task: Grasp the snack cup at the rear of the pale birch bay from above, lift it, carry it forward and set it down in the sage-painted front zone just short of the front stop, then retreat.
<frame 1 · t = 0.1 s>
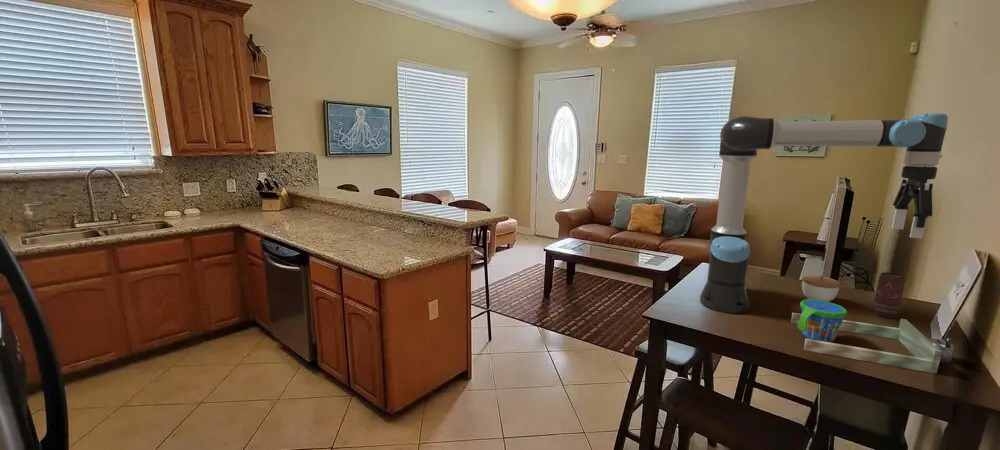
hand: (906, 233, 131), 28 cm above the table, tool pointing down, fingers open, 13 cm apart
snack cup: (817, 338, 122), on the table
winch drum: (936, 357, 111), on the table
can: (884, 315, 137), on the table
bay: (852, 343, 118), on the table
lidded jar: (817, 300, 150), on the table
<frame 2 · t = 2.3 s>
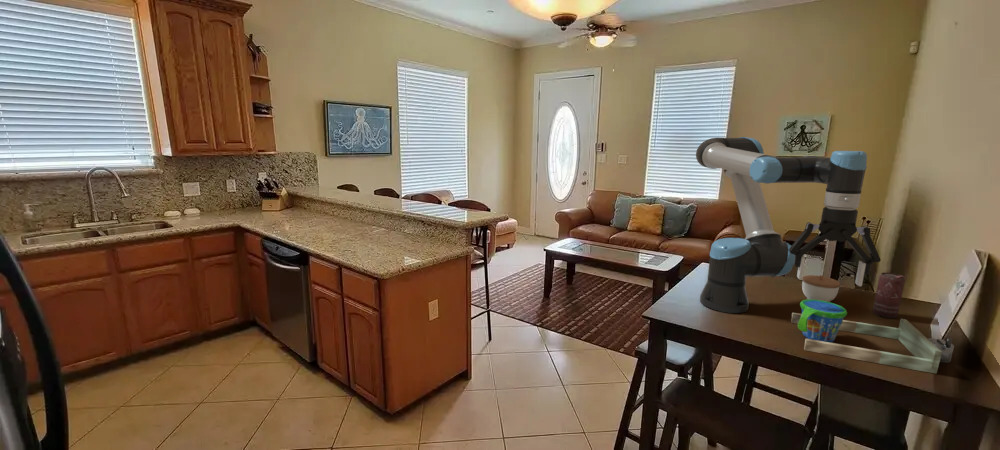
hand: (828, 281, 118), 18 cm above the table, tool pointing down, fingers open, 13 cm apart
nothing on the table moved.
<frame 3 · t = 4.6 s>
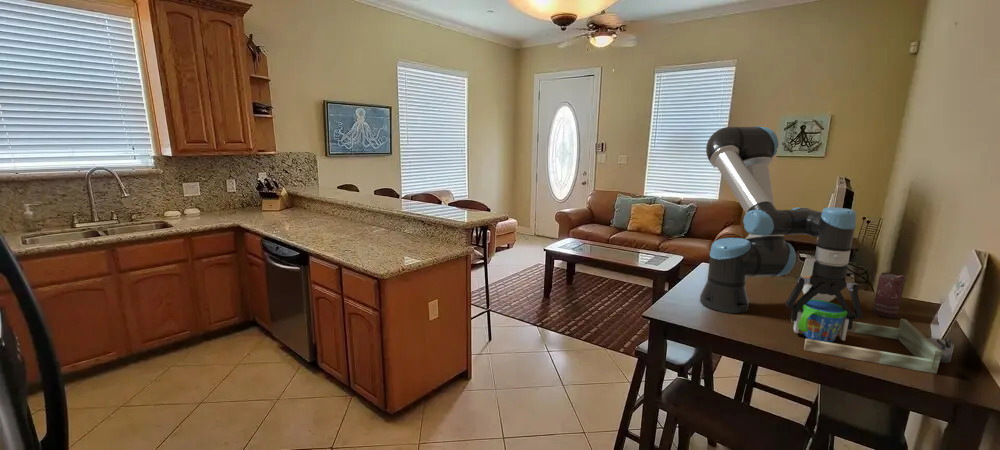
hand: (818, 334, 122), 1 cm above the table, tool pointing down, fingers closed on snack cup, 10 cm apart
snack cup: (818, 338, 122), on the table, touching gripper
everything else where it was.
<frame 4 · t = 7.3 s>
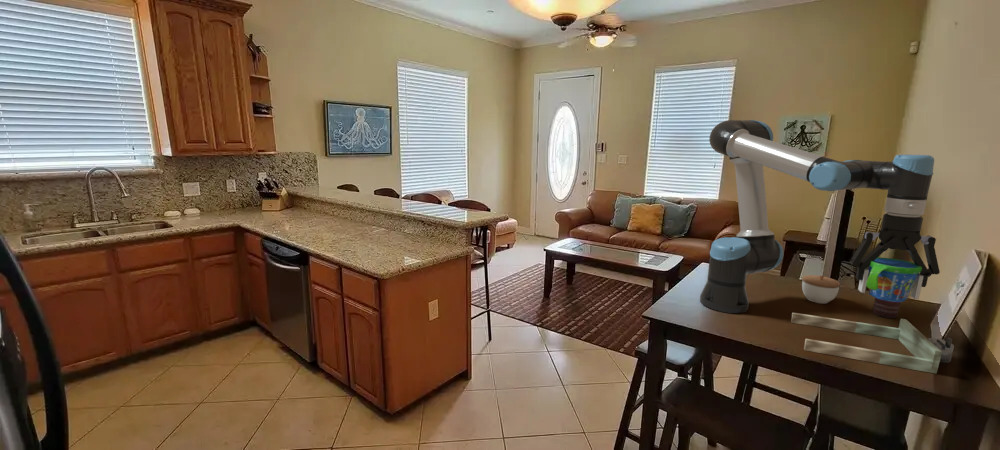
hand: (887, 294, 113), 16 cm above the table, tool pointing down, fingers closed on snack cup, 10 cm apart
snack cup: (886, 298, 113), point 15 cm above the table, touching gripper
everything else where it was.
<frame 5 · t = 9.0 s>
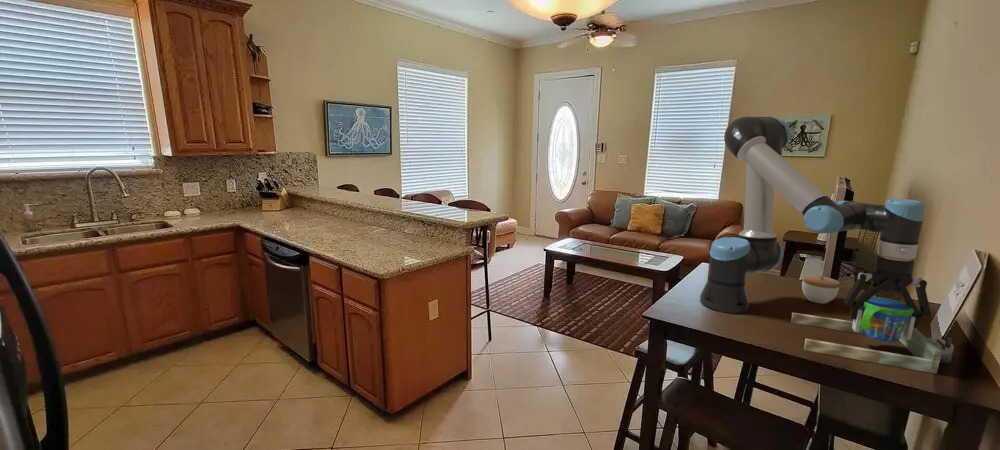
hand: (880, 333, 115), 4 cm above the table, tool pointing down, fingers closed on snack cup, 10 cm apart
snack cup: (879, 338, 115), point 3 cm above the table, touching gripper
everything else where it was.
when the fingers open (3 cm above the table, at t = 10.3 s): snack cup drops 2 cm, on the table.
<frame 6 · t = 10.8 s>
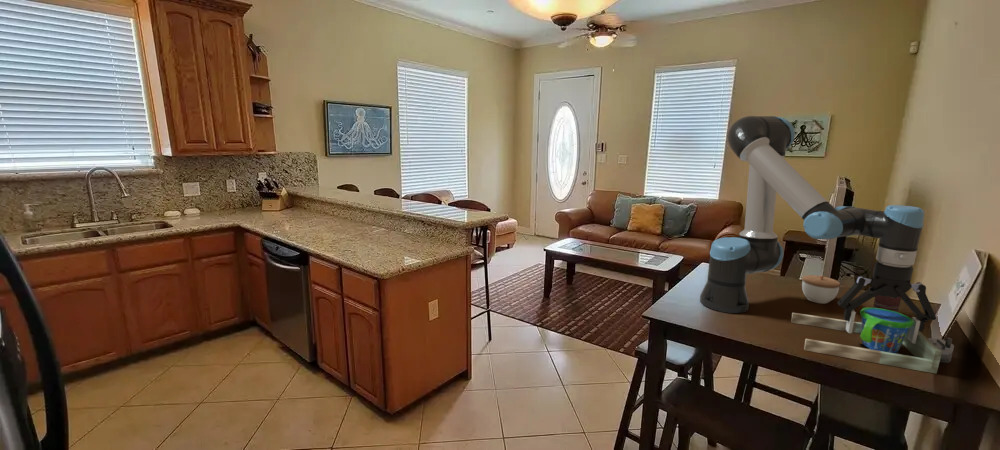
hand: (879, 336, 115), 4 cm above the table, tool pointing down, fingers open, 13 cm apart
snack cup: (879, 349, 116), on the table
everything else where it was.
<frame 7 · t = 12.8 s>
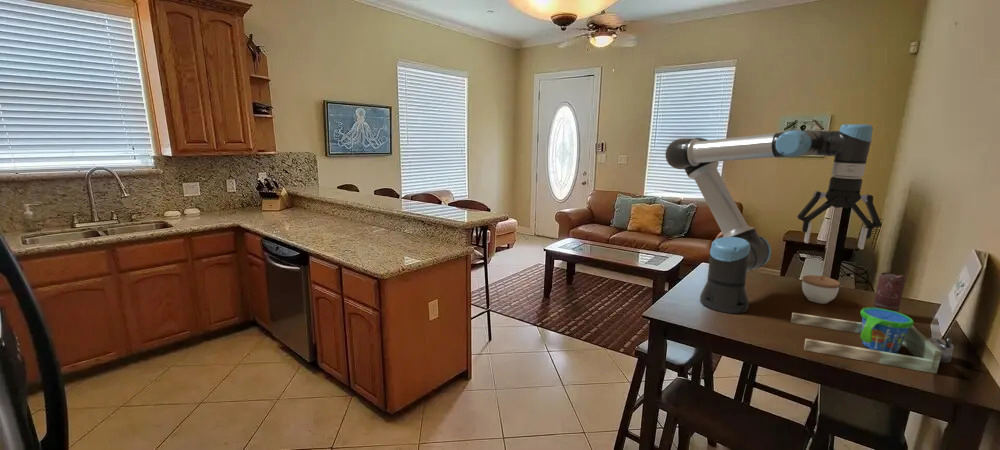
hand: (832, 245, 129), 25 cm above the table, tool pointing down, fingers open, 13 cm apart
nothing on the table moved.
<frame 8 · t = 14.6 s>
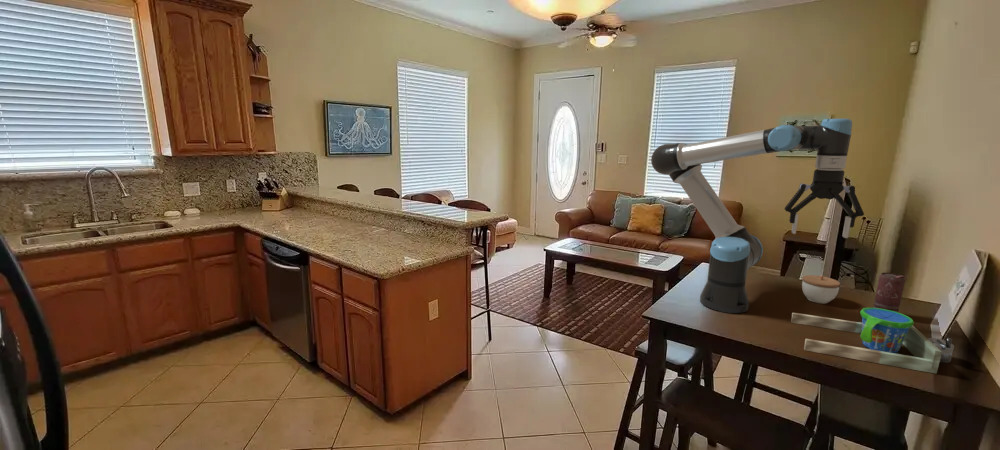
hand: (818, 235, 134), 27 cm above the table, tool pointing down, fingers open, 13 cm apart
nothing on the table moved.
at the end: snack cup inside the target area (0.1 cm from its centre), on the table; snack cup moved 14.1 cm from its start; the gripper is holding nothing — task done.
